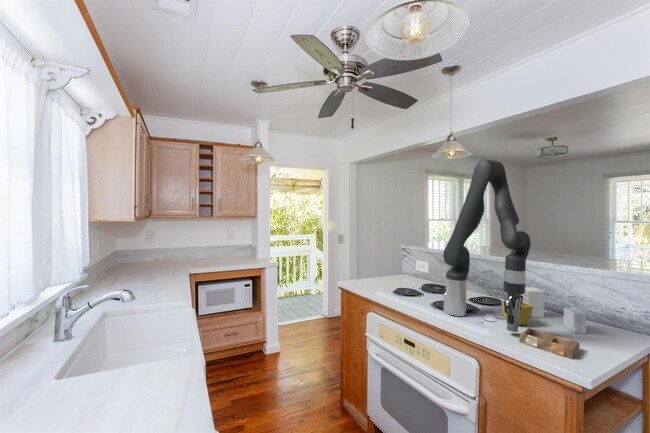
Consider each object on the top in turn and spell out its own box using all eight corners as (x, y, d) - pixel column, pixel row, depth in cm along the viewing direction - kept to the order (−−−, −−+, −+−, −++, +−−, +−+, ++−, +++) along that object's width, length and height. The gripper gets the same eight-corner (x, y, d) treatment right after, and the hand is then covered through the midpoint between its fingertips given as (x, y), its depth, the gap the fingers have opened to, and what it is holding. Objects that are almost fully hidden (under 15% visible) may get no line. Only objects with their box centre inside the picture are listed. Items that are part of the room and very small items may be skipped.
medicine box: (586, 334, 124) (587, 313, 124) (573, 333, 125) (574, 312, 124) (574, 326, 132) (575, 307, 131) (562, 325, 132) (563, 306, 132)
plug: (504, 329, 123) (506, 305, 122) (508, 326, 125) (509, 303, 125) (515, 332, 120) (517, 308, 119) (519, 330, 122) (520, 306, 122)
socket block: (519, 342, 116) (519, 334, 116) (528, 335, 122) (529, 327, 122) (571, 359, 103) (571, 350, 103) (579, 350, 110) (579, 341, 110)
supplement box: (535, 312, 149) (535, 287, 148) (544, 318, 141) (545, 291, 141) (519, 311, 150) (520, 286, 149) (527, 317, 142) (528, 290, 142)
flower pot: (517, 328, 129) (517, 307, 129) (500, 320, 138) (500, 301, 137) (532, 326, 132) (533, 305, 131) (515, 318, 140) (516, 299, 140)
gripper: (511, 276, 129) (509, 315, 130) (497, 281, 120) (495, 323, 121) (531, 279, 123) (529, 320, 124) (518, 285, 114) (516, 329, 115)
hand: (512, 321), depth 122 cm, fingers closed on plug, 4 cm apart
